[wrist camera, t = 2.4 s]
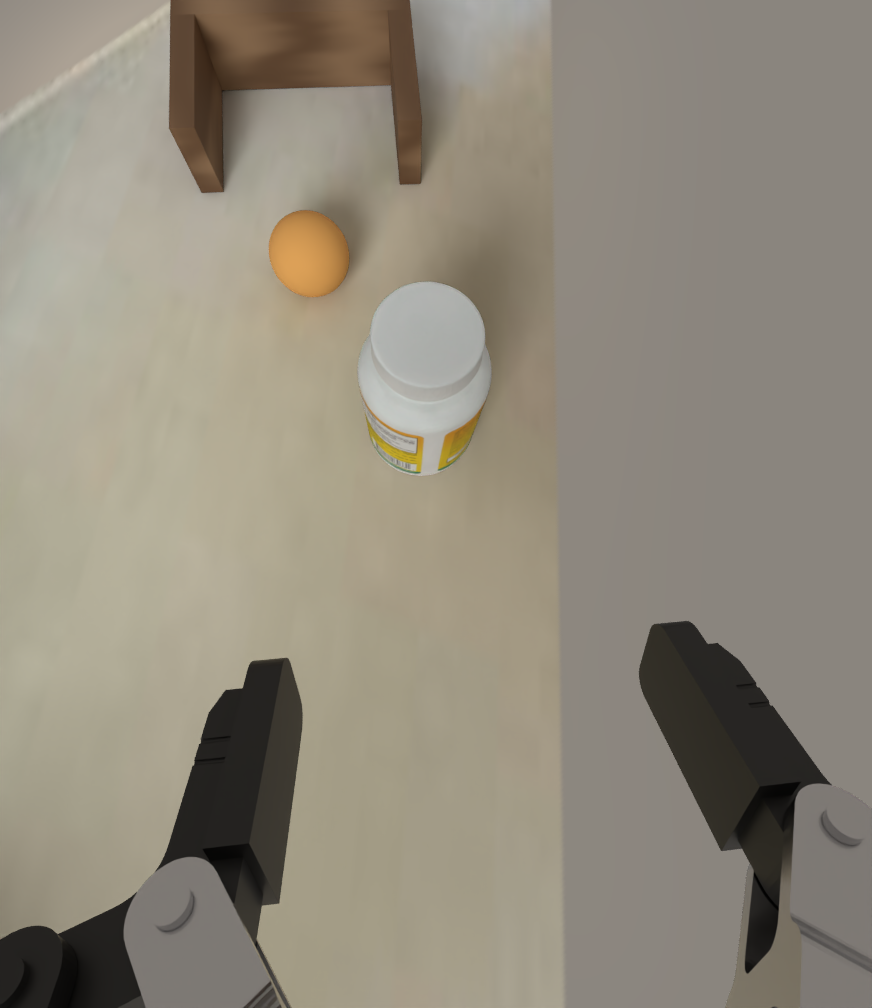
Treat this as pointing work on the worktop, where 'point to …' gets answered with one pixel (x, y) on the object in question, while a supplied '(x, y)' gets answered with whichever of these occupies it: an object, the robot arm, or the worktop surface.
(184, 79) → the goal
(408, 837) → the worktop surface
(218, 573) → the worktop surface
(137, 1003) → the robot arm
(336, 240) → the ball
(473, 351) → the supplement bottle
